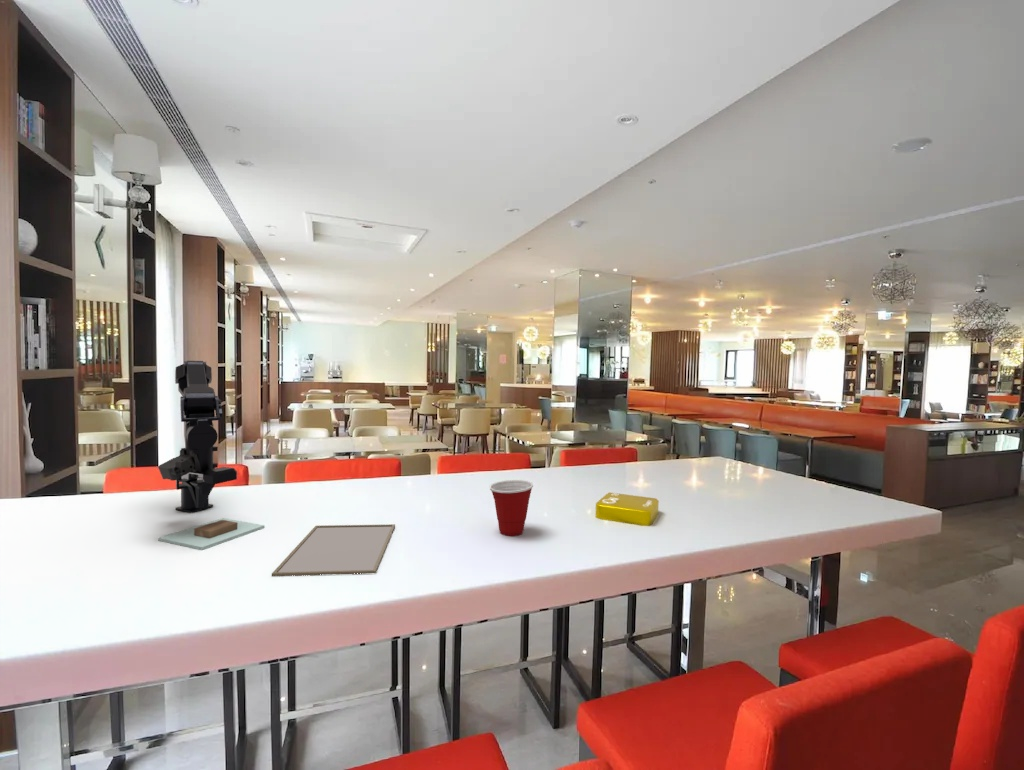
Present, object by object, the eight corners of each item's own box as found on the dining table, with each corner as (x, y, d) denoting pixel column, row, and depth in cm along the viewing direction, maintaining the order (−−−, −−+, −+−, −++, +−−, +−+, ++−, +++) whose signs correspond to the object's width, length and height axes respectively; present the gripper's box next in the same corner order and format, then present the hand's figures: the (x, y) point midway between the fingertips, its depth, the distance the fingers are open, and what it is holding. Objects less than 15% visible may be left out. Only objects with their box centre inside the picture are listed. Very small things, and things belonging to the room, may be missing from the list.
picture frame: (315, 529, 120) (271, 578, 92) (315, 525, 120) (271, 573, 92) (395, 528, 122) (375, 576, 94) (395, 524, 122) (375, 571, 94)
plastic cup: (484, 526, 123) (485, 479, 123) (525, 523, 126) (526, 477, 126) (493, 541, 113) (494, 490, 112) (538, 538, 116) (539, 488, 115)
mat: (158, 540, 109) (158, 537, 109) (223, 520, 124) (223, 517, 124) (202, 550, 104) (202, 547, 104) (264, 527, 119) (264, 525, 119)
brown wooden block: (194, 528, 111) (209, 531, 109) (222, 519, 117) (237, 522, 116) (194, 535, 111) (209, 538, 109) (222, 526, 118) (237, 529, 116)
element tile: (649, 528, 126) (650, 510, 125) (593, 519, 132) (593, 502, 132) (659, 513, 139) (659, 496, 139) (607, 506, 146) (608, 490, 145)
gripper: (138, 444, 113) (138, 511, 114) (193, 451, 106) (193, 522, 107) (186, 438, 124) (186, 499, 124) (238, 444, 117) (238, 509, 117)
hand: (199, 507), depth 118 cm, fingers closed
